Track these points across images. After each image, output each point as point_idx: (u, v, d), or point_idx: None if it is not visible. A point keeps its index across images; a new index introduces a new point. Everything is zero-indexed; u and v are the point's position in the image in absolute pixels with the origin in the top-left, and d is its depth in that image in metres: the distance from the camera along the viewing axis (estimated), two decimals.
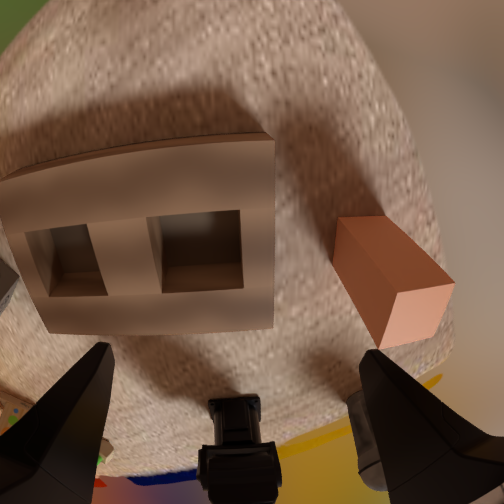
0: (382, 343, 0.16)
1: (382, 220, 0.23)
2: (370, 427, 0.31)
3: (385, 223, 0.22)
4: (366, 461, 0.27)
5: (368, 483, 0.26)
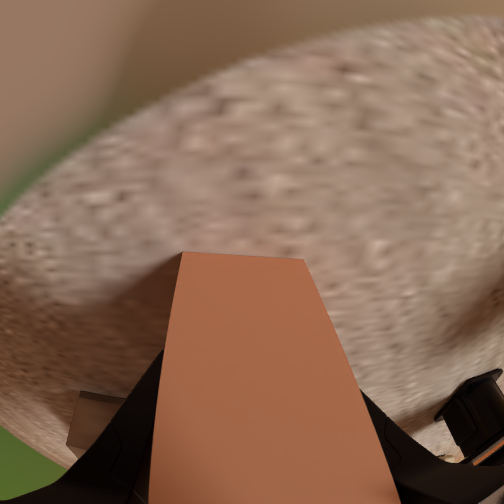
0: None
1: None
2: None
3: None
4: None
5: None
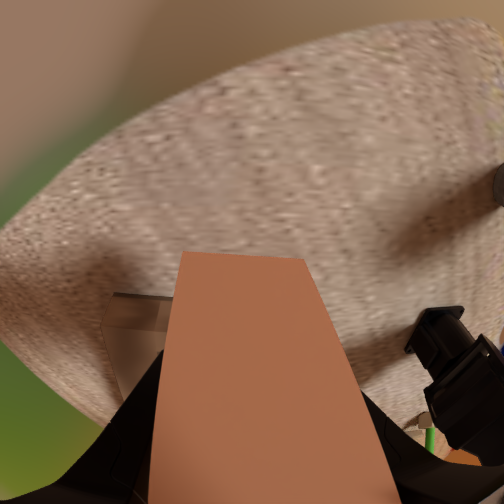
0: None
1: None
2: None
3: None
4: None
5: None
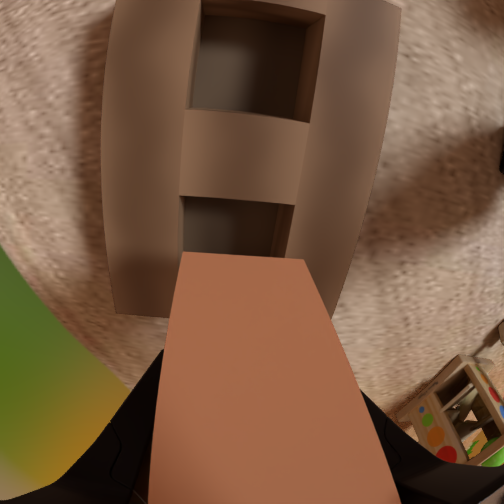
0: None
1: None
2: None
3: None
4: None
5: None
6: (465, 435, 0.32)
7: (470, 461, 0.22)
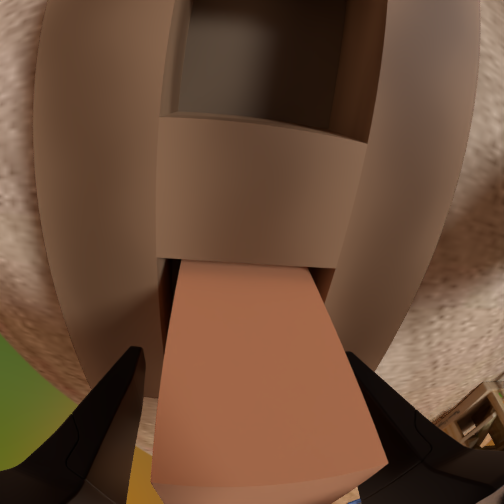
0: None
1: None
2: None
3: None
4: None
5: None
6: None
7: None
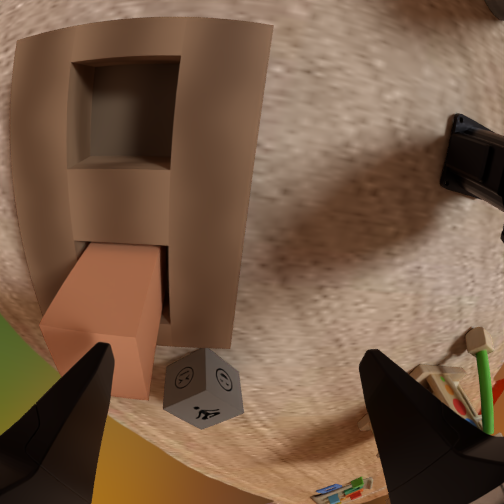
0: (136, 398, 0.13)
1: None
2: None
3: None
4: None
5: None
6: None
7: None
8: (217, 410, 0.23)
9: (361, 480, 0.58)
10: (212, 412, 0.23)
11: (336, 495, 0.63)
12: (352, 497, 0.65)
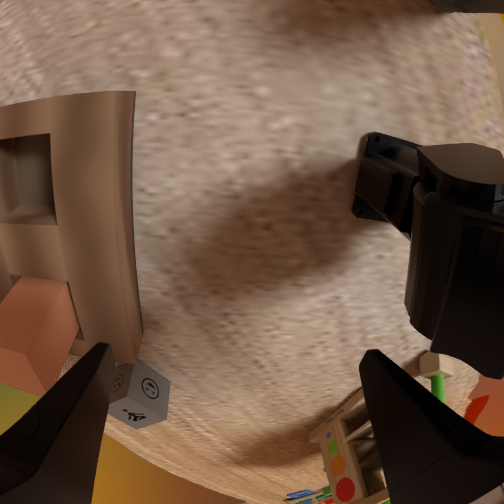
0: (42, 395, 0.14)
1: None
2: None
3: None
4: None
5: None
6: None
7: (365, 500, 0.23)
8: (143, 414, 0.25)
9: None
10: (139, 415, 0.25)
11: (309, 500, 0.64)
12: (327, 503, 0.66)
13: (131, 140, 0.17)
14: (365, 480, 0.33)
